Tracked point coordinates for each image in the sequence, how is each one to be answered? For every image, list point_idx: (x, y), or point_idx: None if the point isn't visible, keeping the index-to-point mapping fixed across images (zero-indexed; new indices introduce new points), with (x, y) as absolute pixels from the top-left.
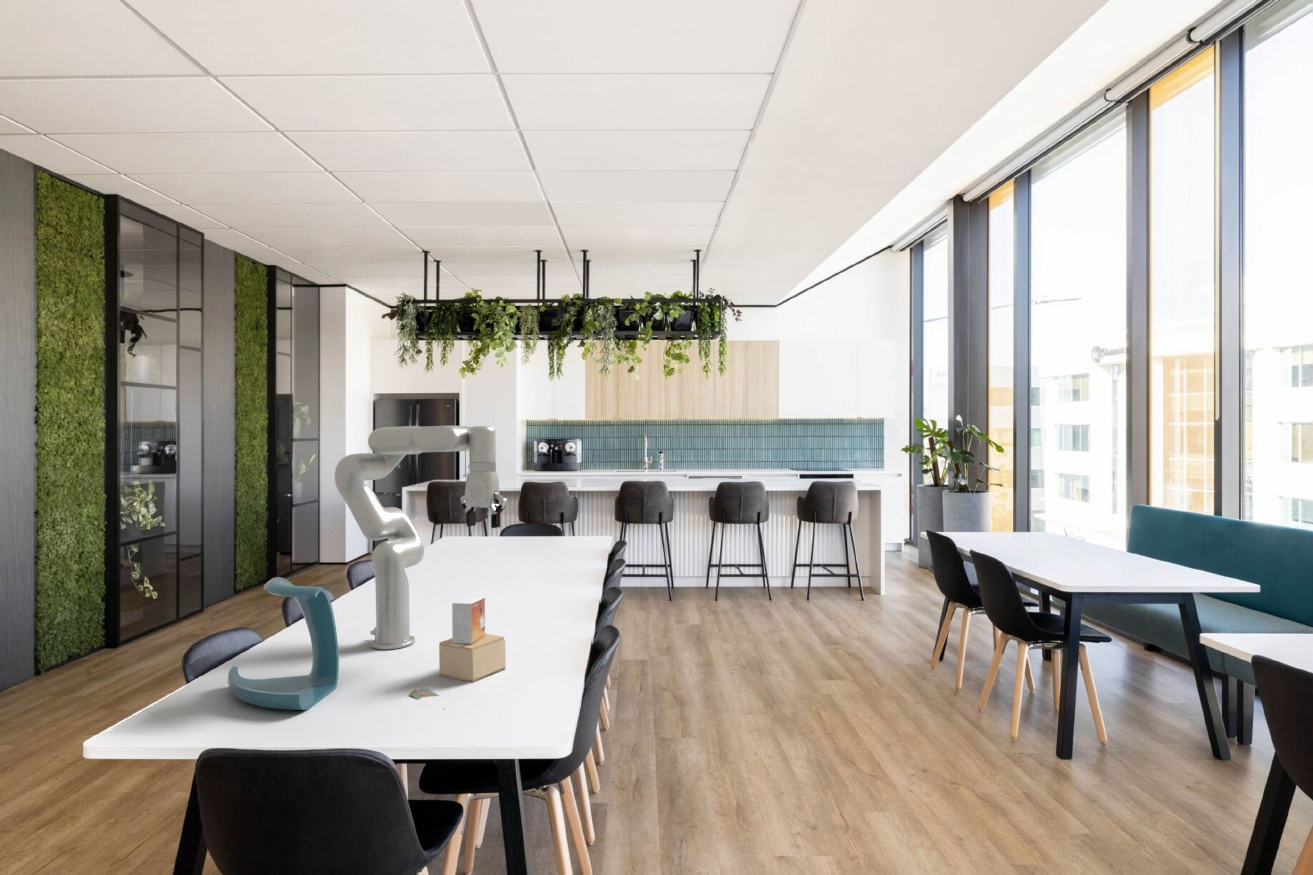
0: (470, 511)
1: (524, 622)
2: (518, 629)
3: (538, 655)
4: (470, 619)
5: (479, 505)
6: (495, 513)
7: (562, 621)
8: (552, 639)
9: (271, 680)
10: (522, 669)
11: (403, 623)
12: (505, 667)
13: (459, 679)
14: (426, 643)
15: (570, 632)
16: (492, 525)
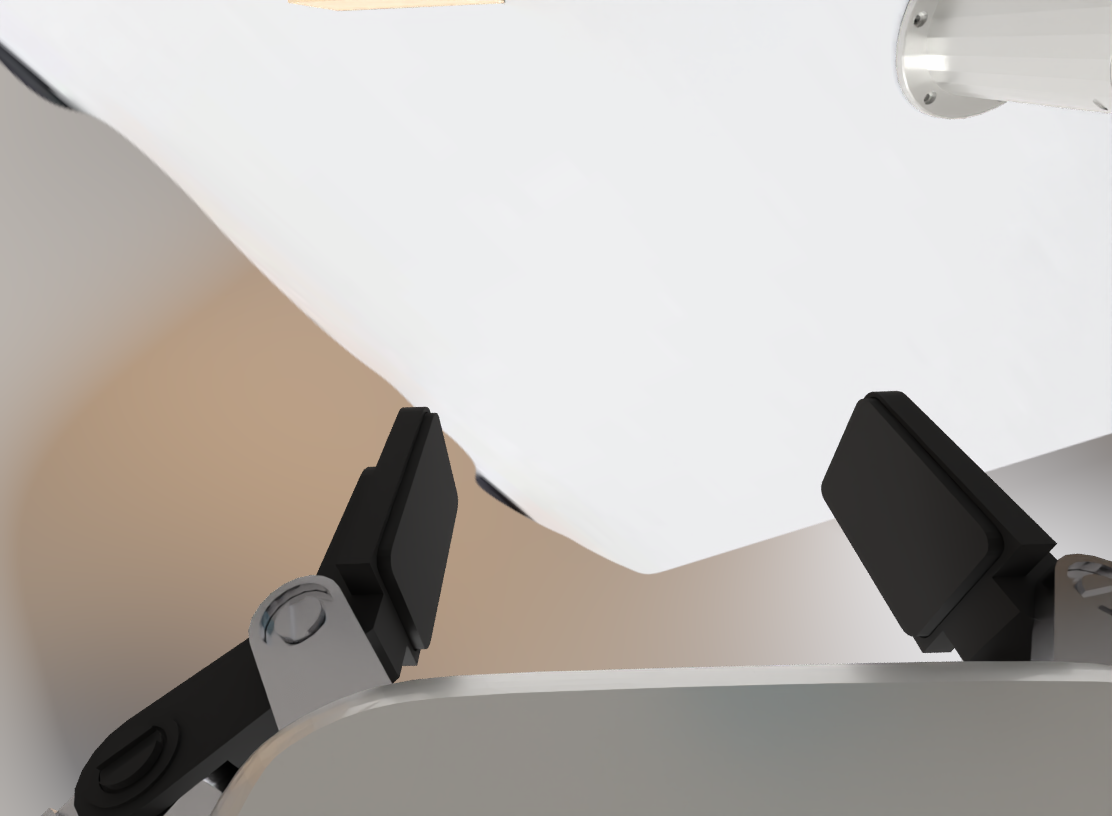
0: (996, 609)
1: (672, 430)
2: (642, 378)
3: (388, 212)
4: None
5: (628, 721)
6: (274, 591)
7: (585, 473)
8: (485, 352)
9: None
10: (291, 49)
11: (990, 14)
12: (335, 10)
13: None
14: (844, 108)
15: (494, 418)
16: (400, 424)
